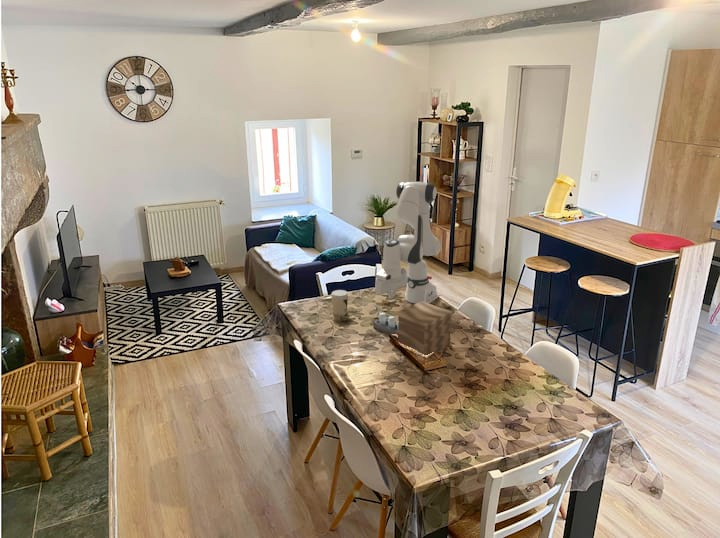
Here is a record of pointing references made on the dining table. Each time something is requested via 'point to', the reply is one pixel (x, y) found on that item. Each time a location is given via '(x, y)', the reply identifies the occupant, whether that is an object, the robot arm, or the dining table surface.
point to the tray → (386, 324)
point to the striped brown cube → (424, 327)
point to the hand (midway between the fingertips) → (391, 297)
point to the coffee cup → (339, 302)
